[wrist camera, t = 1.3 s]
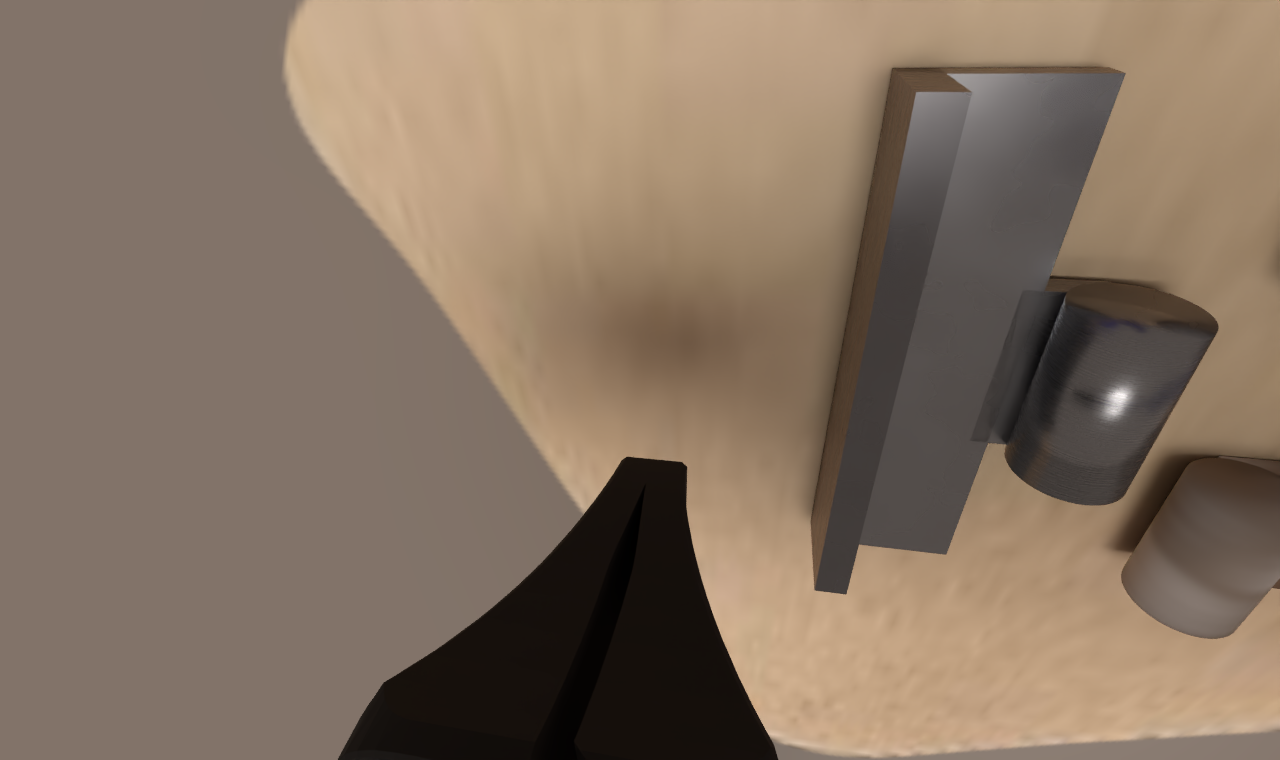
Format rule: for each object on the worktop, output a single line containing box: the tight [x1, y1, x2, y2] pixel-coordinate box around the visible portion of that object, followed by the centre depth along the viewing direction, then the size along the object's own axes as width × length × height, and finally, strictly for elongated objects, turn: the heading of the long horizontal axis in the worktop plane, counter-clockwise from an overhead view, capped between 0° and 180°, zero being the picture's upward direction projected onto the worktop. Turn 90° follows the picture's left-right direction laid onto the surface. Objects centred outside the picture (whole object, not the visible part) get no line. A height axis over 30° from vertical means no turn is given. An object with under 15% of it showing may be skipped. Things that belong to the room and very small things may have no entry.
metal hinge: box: [811, 67, 1218, 594], centre depth 17 cm, size 8×15×3 cm, turn 1°
